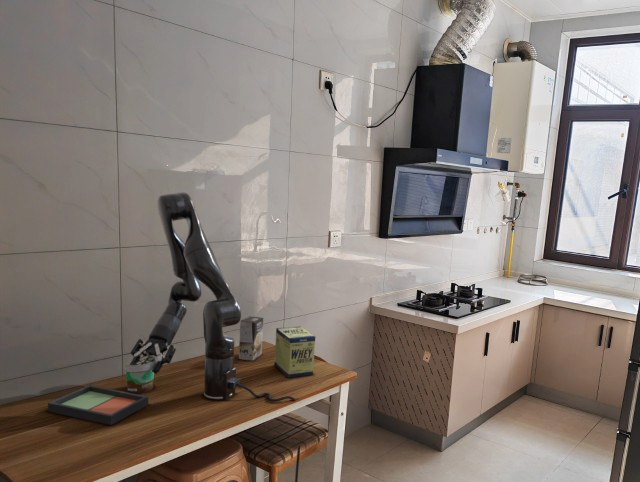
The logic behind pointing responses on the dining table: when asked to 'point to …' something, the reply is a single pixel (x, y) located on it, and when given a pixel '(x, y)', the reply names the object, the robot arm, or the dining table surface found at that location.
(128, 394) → the sorting tray
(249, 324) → the coffee box
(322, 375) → the dining table surface
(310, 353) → the protein box
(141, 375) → the food container
